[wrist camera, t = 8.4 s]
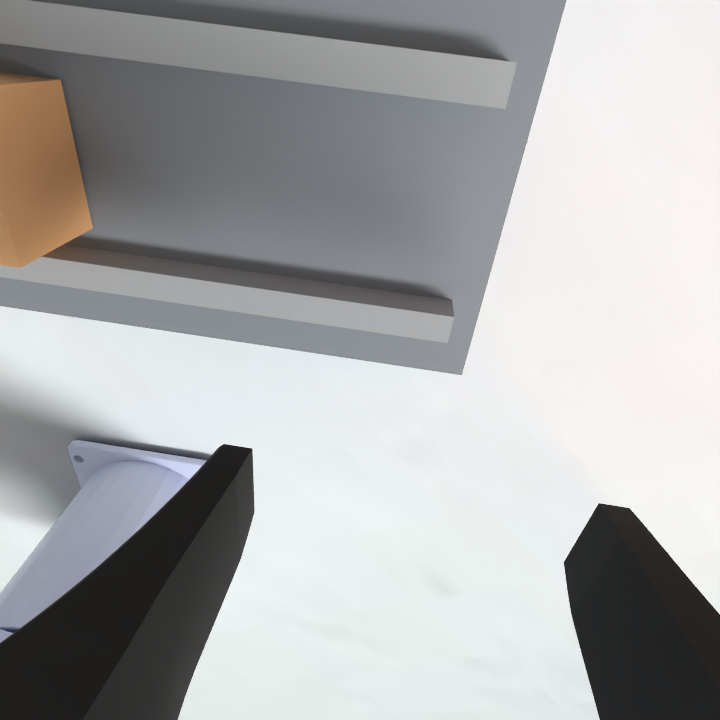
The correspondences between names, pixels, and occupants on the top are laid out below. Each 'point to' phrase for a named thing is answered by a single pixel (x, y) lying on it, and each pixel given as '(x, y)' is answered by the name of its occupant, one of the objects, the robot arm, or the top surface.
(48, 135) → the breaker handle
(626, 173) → the top surface
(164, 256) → the rails
